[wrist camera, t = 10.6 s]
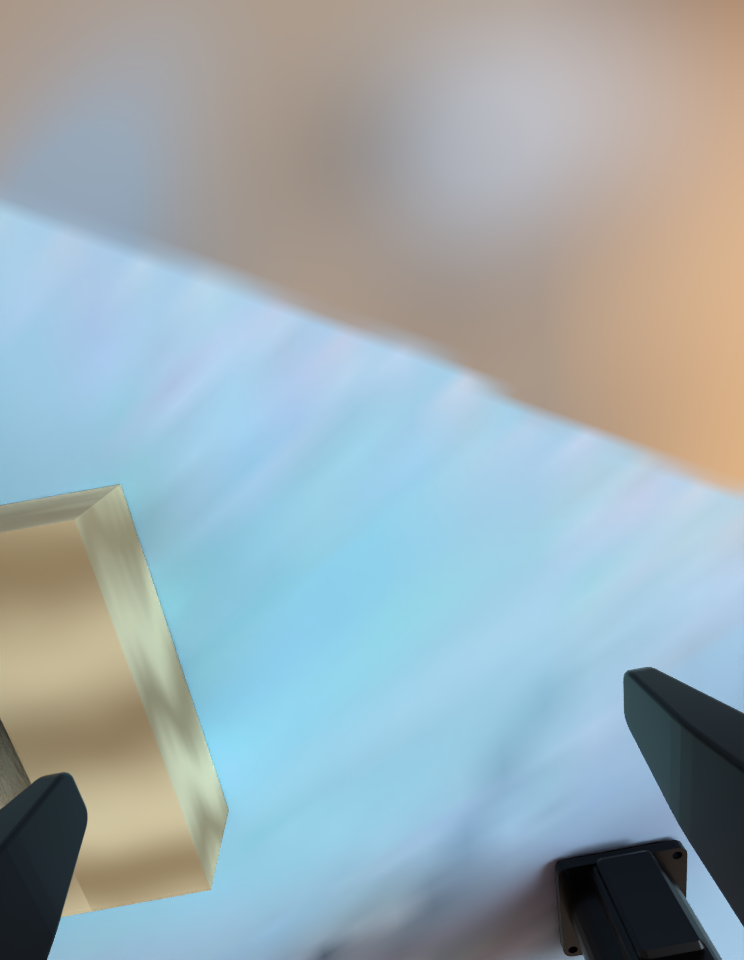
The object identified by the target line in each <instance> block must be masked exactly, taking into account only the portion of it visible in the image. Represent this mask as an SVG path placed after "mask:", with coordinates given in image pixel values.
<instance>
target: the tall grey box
mask: <svg viewBox="0 0 744 960" xmlns="http://www.w3.org/2000/svg"><path fill="white" fill-rule="evenodd" d="M30 784H31V782H30V780H29V777H28V775H27V773H26V771H25V769H24V767H23V765H22V763H21V761H20V758H19V756H18V754H17V752H16V750H15V748H14V746H13V744H12V742H11V740H10V737H9V735H8V733H7V731H6V729H5V727H4V725H3V723H2V721H1V718H0V809H1V808H3V807H4V806H5V805H6V804H8V803H9V802H10V801H11V800H12V799H14V798H15V797H16V796H17V795H18V794H20V793H21V792H22V791H23V790H24V789H26V788H27V787H28V786H29V785H30Z"/></svg>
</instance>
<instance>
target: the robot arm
mask: <svg viewBox="0 0 744 960" xmlns="http://www.w3.org/2000/svg"><path fill="white" fill-rule="evenodd" d="M623 685H624V714H625V719H626V722H627V725H628V727H629V729H630V731H631V733H632V735H633V737H634V739H635V741H636V743H637V745H638V747H639V749H640V751H641V753H642V755H643V757H644V759H645V760H646V762H647V764H648V766H649V768H650V770H651V772H652V774H653V776H654V778H655V780H656V782H657V784H658V786H659V788H660V790H661V792H662V794H663V796H664V797H665V799H666V801H667V803H668V805H669V807H670V809H671V811H672V813H673V815H674V816H675V818H676V820H677V822H678V824H679V826H680V827H681V829H682V831H683V832H684V834H685V835H686V837H687V839H688V840H689V842H690V844H691V845H692V847H693V848H694V850H695V851H696V853H697V855H698V856H699V858H700V859H701V861H702V862H703V864H704V865H705V867H706V869H707V870H708V872H709V873H710V875H711V876H712V878H713V880H714V881H715V883H716V884H717V886H718V887H719V889H720V891H721V892H722V894H723V895H724V897H725V898H726V900H727V902H728V903H729V905H730V906H731V908H732V909H733V911H734V912H735V914H736V916H737V917H738V919H739V920H740V922H741V923H742V925H743V927H744V713H742V712H740V711H738V710H736V709H734V708H732V707H730V706H728V705H726V704H724V703H722V702H720V701H718V700H716V699H714V698H712V697H710V696H708V695H706V694H704V693H702V692H700V691H698V690H696V689H695V688H693V687H691V686H689V685H687V684H685V683H683V682H681V681H679V680H677V679H675V678H673V677H671V676H669V675H667V674H665V673H663V672H661V671H659V670H657V669H655V668H652V667H644V668H638V669H633V670H628V671H627V672H626V673H625V674H624V679H623ZM87 821H88V813H87V808H86V805H85V803H84V801H83V799H82V796H81V794H80V792H79V790H78V787H77V785H76V783H75V781H74V778H73V777H72V775H71V774H69V773H68V772H60V773H55V774H49V775H45V776H42V777H40V778H38V779H37V780H35V781H34V782H33V783H32V784H30V785H29V786H28V787H27V788H26V789H24V790H23V791H22V792H21V793H20V794H18V795H17V796H16V797H15V798H14V799H12V800H11V801H10V802H9V803H8V804H6V805H5V806H4V807H3V808H1V809H0V960H47V958H48V955H49V952H50V949H51V946H52V944H53V941H54V938H55V935H56V932H57V928H58V925H59V922H60V919H61V915H62V912H63V908H64V905H65V901H66V898H67V894H68V891H69V887H70V884H71V880H72V877H73V873H74V870H75V866H76V862H77V859H78V855H79V852H80V848H81V845H82V841H83V838H84V834H85V831H86V827H87ZM555 879H556V891H557V903H558V916H559V928H560V940H561V945H562V948H563V951H564V953H565V954H566V955H567V956H577V955H582V954H583V956H584V959H585V960H722V958H721V957H720V955H719V953H718V952H717V950H716V948H715V947H714V945H713V943H712V942H711V940H710V938H709V937H708V935H707V933H706V932H705V930H704V928H703V927H702V925H701V923H700V921H699V920H698V918H697V916H696V915H695V913H694V911H693V910H692V908H691V906H690V905H689V903H688V901H687V900H686V882H687V851H686V849H685V848H684V846H683V845H682V843H681V842H680V841H677V840H672V841H666V842H661V843H655V844H650V845H644V846H639V847H633V848H628V849H622V850H617V851H612V852H606V853H601V854H595V855H590V856H584V857H579V858H573V859H568V860H563V861H560V862H559V863H557V865H556V866H555Z"/></svg>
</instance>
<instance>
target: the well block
mask: <svg viewBox="0 0 744 960" xmlns="http://www.w3.org/2000/svg"><path fill="white" fill-rule="evenodd" d="M0 718H1V721H2V723H3V725H4V727H5V729H6V731H7V733H8V735H9V737H10V740H11V742H12V744H13V746H14V748H15V750H16V752H17V754H18V756H19V758H20V761H21V763H22V765H23V767H24V769H25V771H26V773H27V775H28V777H29V780H30V782H31V784H32V783H33V782H34V781H35V780H37V779H38V778H40V777H42V776H45V775H49V774H55V773H60V772H68V773H69V774H71V775H72V777H73V778H74V781H75V783H76V785H77V787H78V790H79V792H80V794H81V796H82V799H83V801H84V803H85V805H86V808H87V813H88V821H87V827H86V831H85V834H84V838H83V841H82V845H81V848H80V852H79V855H78V859H77V862H76V866H75V870H74V873H73V877H72V880H71V884H70V887H69V891H68V894H67V898H66V901H65V905H64V908H63V912H62V915H61V917H64V916H70V915H75V914H80V913H86V912H91V911H97V910H102V909H108V908H113V907H119V906H124V905H130V904H135V903H141V902H146V901H152V900H157V899H163V898H168V897H174V896H179V895H185V894H190V893H196V892H201V891H206V890H211V887H212V882H213V878H214V873H215V869H216V864H217V860H218V855H219V851H220V846H221V842H222V838H223V833H224V829H225V824H226V820H227V815H228V811H229V810H228V807H227V804H226V801H225V798H224V795H223V792H222V789H221V786H220V783H219V780H218V777H217V774H216V771H215V767H214V764H213V761H212V758H211V755H210V752H209V749H208V746H207V743H206V740H205V737H204V734H203V731H202V728H201V725H200V722H199V719H198V716H197V713H196V710H195V707H194V704H193V701H192V698H191V695H190V692H189V689H188V686H187V683H186V680H185V677H184V674H183V671H182V668H181V665H180V662H179V659H178V656H177V653H176V650H175V647H174V644H173V641H172V638H171V635H170V632H169V629H168V626H167V623H166V620H165V617H164V614H163V611H162V608H161V605H160V602H159V599H158V596H157V592H156V589H155V586H154V583H153V580H152V577H151V574H150V571H149V568H148V565H147V562H146V559H145V556H144V553H143V550H142V547H141V544H140V541H139V538H138V535H137V532H136V529H135V526H134V523H133V520H132V517H131V514H130V511H129V508H128V505H127V502H126V499H125V496H124V493H123V490H122V487H121V484H119V485H113V486H108V487H102V488H96V489H91V490H85V491H79V492H74V493H68V494H62V495H57V496H51V497H45V498H40V499H34V500H28V501H23V502H17V503H11V504H6V505H0Z"/></svg>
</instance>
